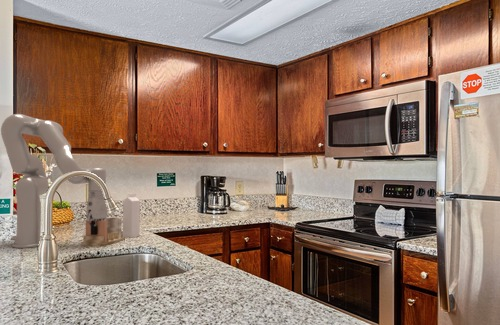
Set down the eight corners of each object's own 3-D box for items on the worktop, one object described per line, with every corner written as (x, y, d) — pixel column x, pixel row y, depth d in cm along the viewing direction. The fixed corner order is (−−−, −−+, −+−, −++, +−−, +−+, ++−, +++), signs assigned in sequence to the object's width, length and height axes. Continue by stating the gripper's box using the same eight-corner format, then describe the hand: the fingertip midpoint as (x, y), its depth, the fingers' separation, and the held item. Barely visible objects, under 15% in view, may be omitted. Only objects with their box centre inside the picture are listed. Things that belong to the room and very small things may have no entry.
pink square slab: (85, 241, 180) (85, 220, 180) (88, 241, 182) (88, 219, 182) (104, 242, 178) (104, 221, 178) (107, 242, 180) (107, 220, 180)
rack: (80, 245, 178) (81, 220, 179) (103, 238, 196) (104, 216, 196) (103, 246, 176) (104, 221, 176) (125, 239, 193) (125, 217, 193)
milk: (122, 237, 201) (122, 194, 201) (131, 235, 206) (131, 193, 207) (131, 238, 198) (131, 194, 199) (139, 236, 204) (140, 194, 204)
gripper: (93, 195, 172) (92, 237, 171) (114, 193, 187) (113, 231, 187) (78, 195, 173) (77, 236, 173) (100, 193, 189) (99, 231, 189)
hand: (96, 233), depth 180 cm, fingers open, 2 cm apart
